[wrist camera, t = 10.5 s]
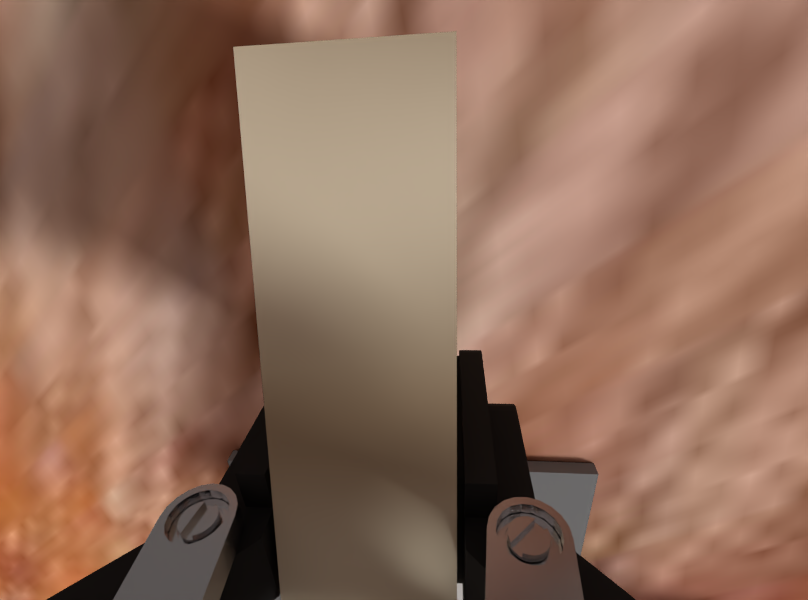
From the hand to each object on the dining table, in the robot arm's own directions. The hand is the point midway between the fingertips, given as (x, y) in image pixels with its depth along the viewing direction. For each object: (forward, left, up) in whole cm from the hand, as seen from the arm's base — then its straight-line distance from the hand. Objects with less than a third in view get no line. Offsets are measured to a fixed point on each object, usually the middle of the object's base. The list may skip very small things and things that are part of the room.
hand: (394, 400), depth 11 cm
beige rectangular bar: (+2, 0, 0) cm, 2 cm away
